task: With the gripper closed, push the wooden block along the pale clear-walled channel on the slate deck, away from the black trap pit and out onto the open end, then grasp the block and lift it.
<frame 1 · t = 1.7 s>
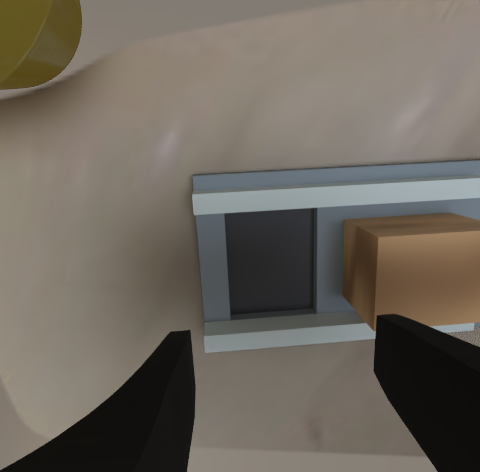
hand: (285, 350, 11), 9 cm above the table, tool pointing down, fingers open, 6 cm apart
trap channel: (411, 248, 21), on the table
block: (395, 254, 20), point 1 cm above the table, touching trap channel
plant pot: (10, 12, 16), on the table
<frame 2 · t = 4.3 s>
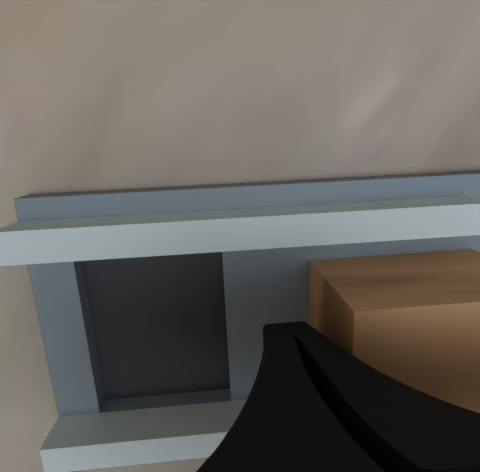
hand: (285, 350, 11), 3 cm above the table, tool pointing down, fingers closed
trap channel: (374, 301, 14), on the table
block: (388, 311, 13), point 1 cm above the table, touching gripper
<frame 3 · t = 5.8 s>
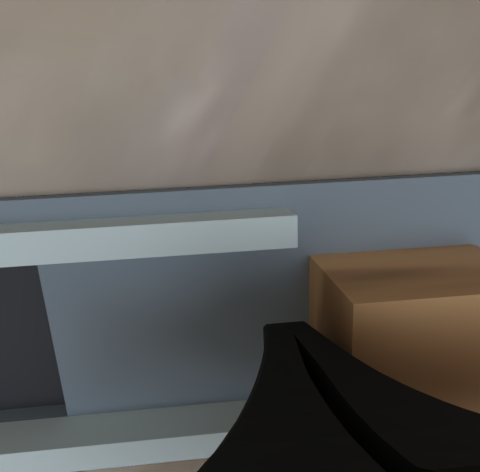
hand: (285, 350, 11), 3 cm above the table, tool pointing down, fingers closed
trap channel: (220, 313, 14), on the table
block: (387, 306, 13), point 1 cm above the table, touching gripper, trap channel
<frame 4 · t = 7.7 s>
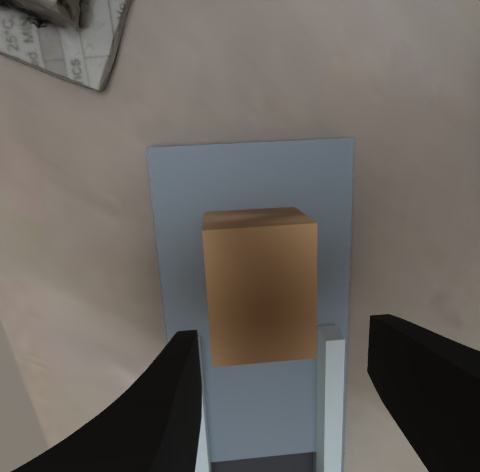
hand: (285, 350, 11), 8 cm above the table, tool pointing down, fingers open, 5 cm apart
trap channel: (258, 360, 21), on the table
block: (252, 266, 18), point 1 cm above the table, touching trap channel
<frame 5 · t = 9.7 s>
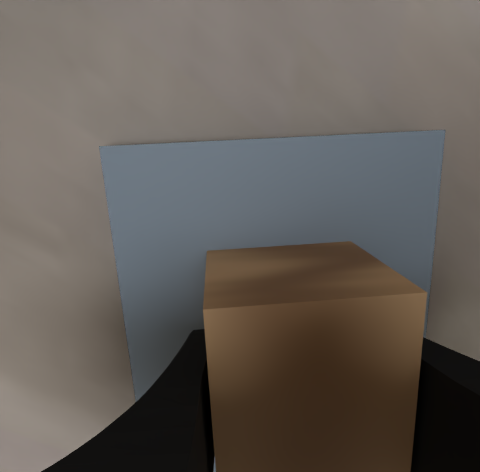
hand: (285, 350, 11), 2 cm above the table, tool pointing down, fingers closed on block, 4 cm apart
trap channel: (279, 460, 14), on the table
block: (281, 333, 11), point 1 cm above the table, touching gripper, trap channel
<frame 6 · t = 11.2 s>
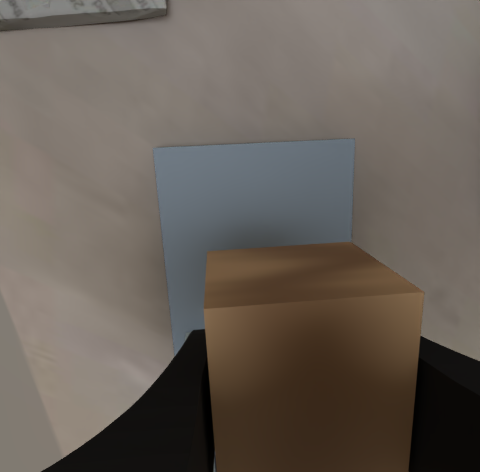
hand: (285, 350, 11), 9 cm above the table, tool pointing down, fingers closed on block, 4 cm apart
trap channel: (260, 355, 21), on the table
block: (281, 332, 12), point 8 cm above the table, touching gripper
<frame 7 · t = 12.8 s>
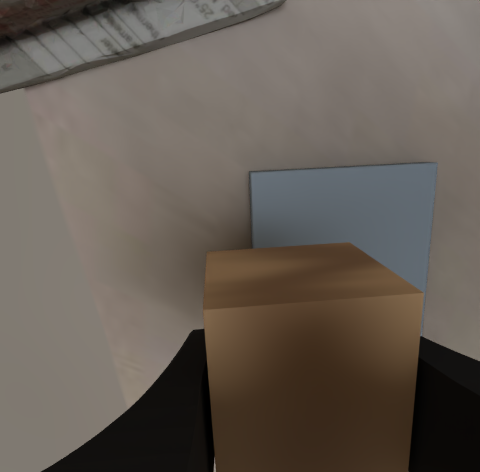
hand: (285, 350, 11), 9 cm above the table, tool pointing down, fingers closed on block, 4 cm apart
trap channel: (334, 365, 22), on the table
block: (280, 333, 12), point 9 cm above the table, touching gripper
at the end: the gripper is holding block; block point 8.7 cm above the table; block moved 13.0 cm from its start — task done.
